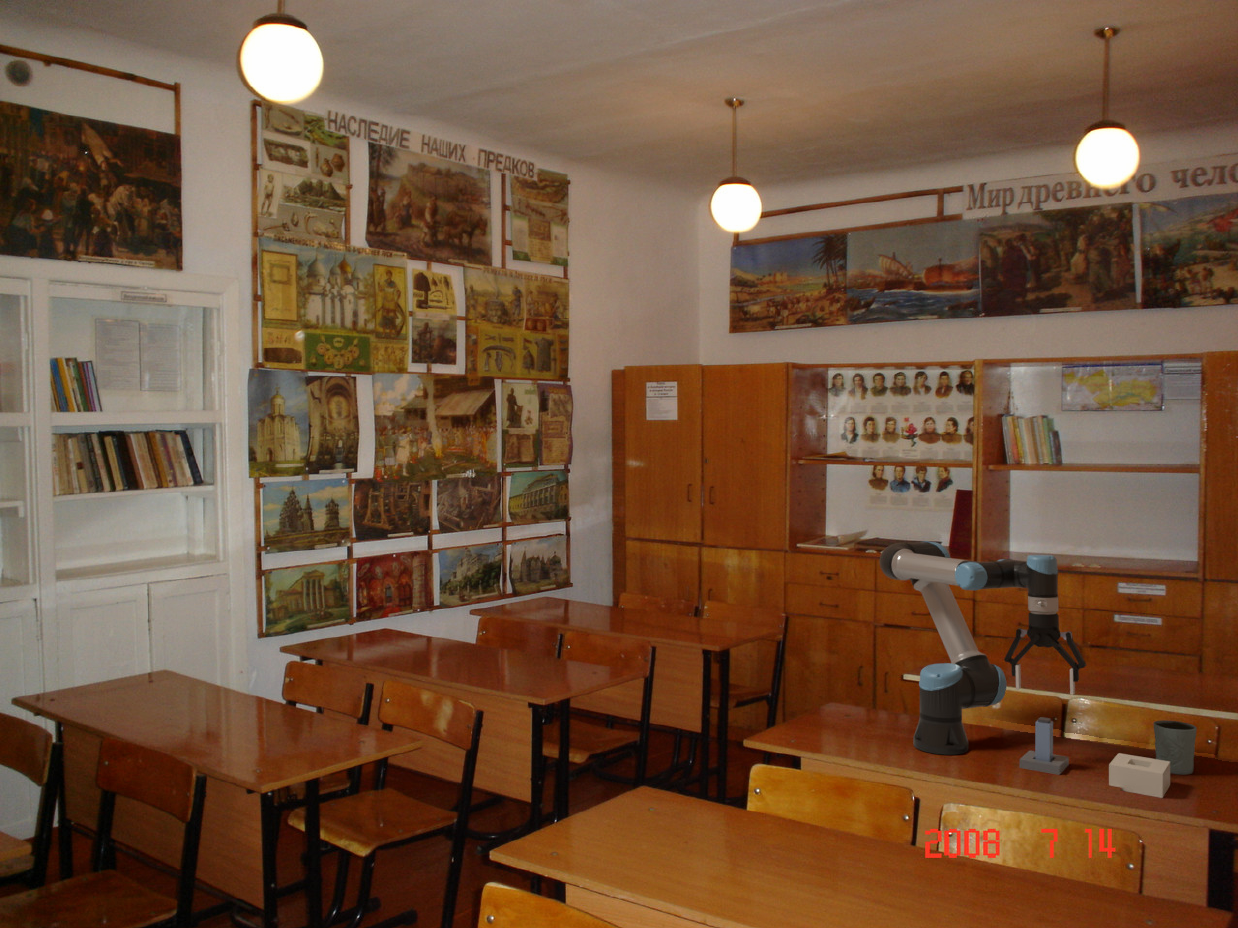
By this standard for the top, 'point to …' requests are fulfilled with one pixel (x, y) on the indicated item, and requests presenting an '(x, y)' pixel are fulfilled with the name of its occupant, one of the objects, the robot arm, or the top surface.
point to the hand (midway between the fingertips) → (1045, 691)
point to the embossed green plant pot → (1175, 745)
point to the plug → (1044, 739)
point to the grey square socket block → (1044, 763)
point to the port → (1140, 775)
